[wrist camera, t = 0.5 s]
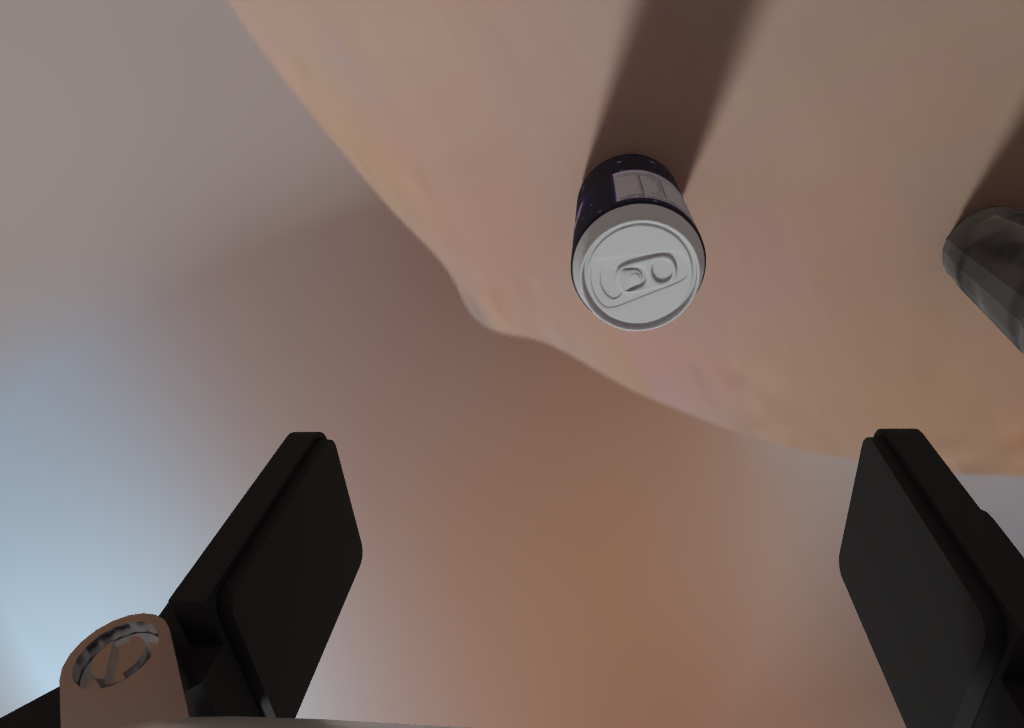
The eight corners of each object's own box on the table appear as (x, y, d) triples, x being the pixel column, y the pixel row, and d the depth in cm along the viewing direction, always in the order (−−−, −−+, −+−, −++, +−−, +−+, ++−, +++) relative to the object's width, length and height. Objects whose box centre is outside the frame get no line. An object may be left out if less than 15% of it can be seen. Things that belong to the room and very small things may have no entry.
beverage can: (566, 167, 36) (553, 230, 26) (667, 137, 35) (697, 192, 25) (590, 260, 39) (588, 352, 28) (686, 236, 37) (721, 323, 27)
